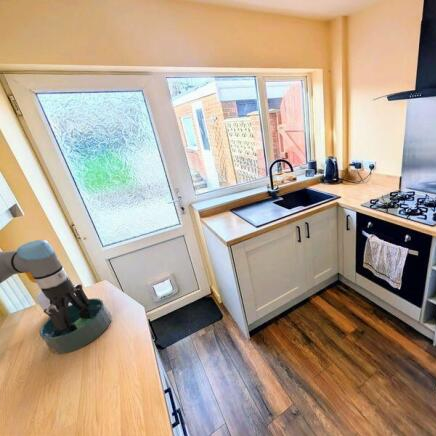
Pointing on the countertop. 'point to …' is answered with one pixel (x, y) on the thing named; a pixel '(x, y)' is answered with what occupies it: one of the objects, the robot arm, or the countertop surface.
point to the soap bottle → (41, 295)
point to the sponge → (81, 322)
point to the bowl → (80, 337)
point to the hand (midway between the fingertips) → (83, 330)
